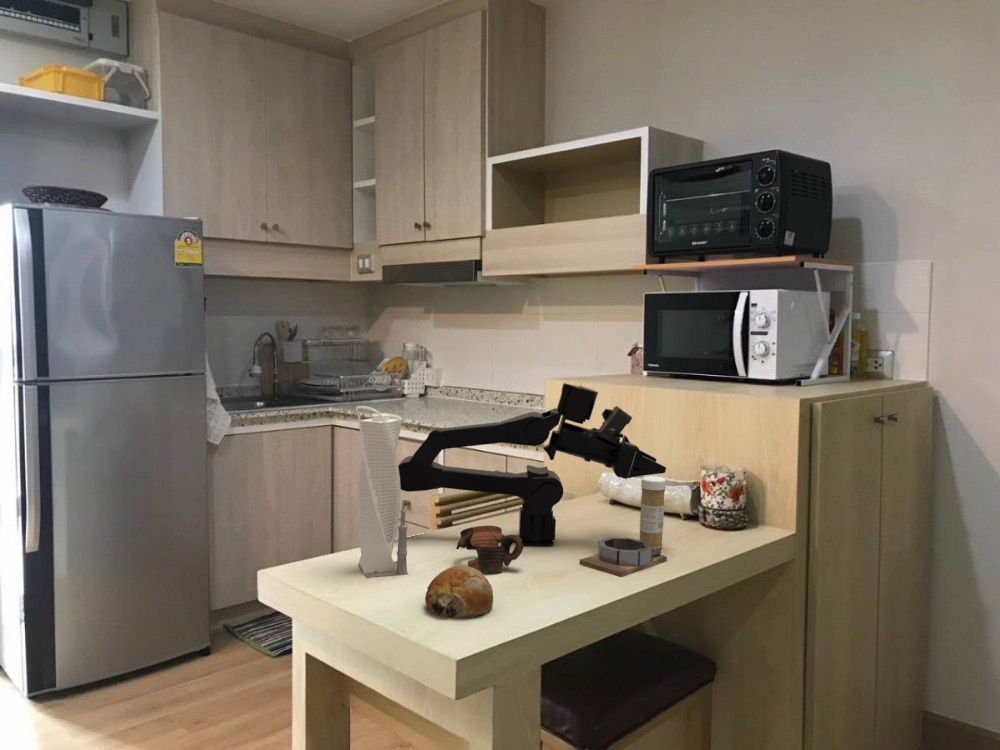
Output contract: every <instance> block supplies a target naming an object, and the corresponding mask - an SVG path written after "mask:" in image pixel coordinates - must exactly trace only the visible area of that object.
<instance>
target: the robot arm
mask: <svg viewBox="0 0 1000 750" xmlns="http://www.w3.org/2000/svg"><path fill="white" fill-rule="evenodd" d="M560 391H561V393H560V397H559V400H558V404H557V407H556V408H553V409H552V408H551V409H550V410H547V411H544V412H541V413H540V412H537V411H530V412H527V413H524V414H520V415H516V416H513V417H511V418H509V419H505V420H501V421H497V422H489V423H480V424H471V425H469V424H468V425H460V426H452V427H434V428H433V429H432V430H430V432H429V434H428V435H427V438H426V439H425V440H424V441H423V442H422V443H421V444H420V446H419V447H418V448H417V449H416V451H415V452H414V453H413V454H412V455H408V456H406V457H404V458H403V459H402V460H401V461H400V462H399V463H398V468H399V475H400V488H401V491H403V492H408V493H409V492H410V493H411V492H424V491H430V490H436V489H450V490H451V489H452V490H460V491H461V490H462V491H469V492H476V493H477V492H478V493H479V492H480V493H489V494H497V495H506V496H514V497H517V498H519V499H521V506H522V507H521V506H519V511H518V513H519V515H518V516H519V518H518V533H517V534H516V535H517V536H518V537H520V538H521V539H522V544H523V545H524V546H547V547H549V546H551V547H552V546H554V541H555V540H556V521H557V520H556V517H555V516H554V510H553V507H554V506H556V505H557V504H558V503H560V501H561V500H562V498H563V497H564V487H563V483H562V481H561V478H560V476H559V475H558V474H557V473H556V472H555V471H553V470H549V469H548V466H543V467H538V466H534V465H529V464H527V465H526V471H524V472H518V473H512V472H503V471H502V472H501V471H496V470H494V471H493V470H485V469H484V470H483V469H475V468H474V469H473V468H465V467H455V466H447V465H443V464H440V463H438V462H436V461H435V459H436V458H437V457H438V456H439V454H440V453H441V452H442V451H443V450H446V449H447V450H448V449H455V448H457V449H458V448H466V447H475V446H483V445H493V444H494V445H495V444H512V445H517V446H518V445H519V446H530V447H531V446H532V447H533V446H534V447H536V446H540V445H543V444H544V443H546V441H547V440H548V438H549V436H550V438H549V441H548V444H546V445H544V446H543V450H544V451H545V453H546V454H547V455H548V457H549V460H550V461H553V460H555V456H556V453H557V452H560V453H563V454H567V455H570V456H573V457H576V458H580V459H583V460H584V461H586V462H588V463H590V462H594V463H597V464H601V465H604V467H606V468H609V469H612V471H613V473H614V475H615V476H616V477H618V478H621V479H624V480H627V479H632V478H637V477H646V476H651V475H658V474H665V473H666V470H667V467H666V466H665V465H663V464H660V463H658V462H657V458H656V457H654V456H652V455H651V454H649V453H646V452H645V451H643V450H640V448H639V447H638V446H637V445H636V444H633V443H631V441H630V439H629V438H628V437H627V435H625V434H623V433H622V432H623V430H624V429H625V428H626V427H627V425H629V424H630V422H631V421H632V420H633V417H632V416H631V415H629V413H627V412H625V411H624V410H623V409H622V408H621V407H619V406H614V407H613V409H610V408H605V409H604V410H603V411H602V413H601V416H602V418H603V420H604V421H602V423H601V425H600V427H599V428H597V427H592V428H590V429H589V428H586V427H583V426H579V425H583V424H584V423H586V420H587V421H590V420H591V416H592V414H593V410H594V409H595V408H594V407H595V405H596V400H597V398H598V396H599V395H598V394H599V392H598V391H596V390H594V389H593V388H592V389H591V388H588V387H585V386H583V385H578V386H577V385H574V384H569V383H567V382H564V383H563V384H562V387H561V390H560ZM566 421H570V422H573V423H575V424H573V423H569V422H566ZM576 424H579V425H576ZM557 426H558V428H557V429H556V430H554V428H556V427H557ZM550 433H551V434H550ZM621 438H622V440H621Z"/></svg>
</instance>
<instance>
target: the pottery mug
mask: <svg viewBox="0 0 1000 750" xmlns="http://www.w3.org/2000/svg"><path fill="white" fill-rule="evenodd" d="M502 530H503V529H502V527H500V526H496V525H478V526H473V527H467V528H465V529H462V530H461V531H460V539H459V541H458V542H457V545H456V547H455V549H456V550H458V549H460V548H462V549H466V550H469V551H472V550H473V551H476V554H477V557H476V558H475V559H471V560H468V561H467V566H468V567H472V568H474V569H476V570H478V571H480V572H481V573H490V574H491V573H495V574H496V573H497V574H502V573H503V566H505V567H509V565H510V564H511V563H512V561H515V560H517V559H518V558H519V557H520V556H521V554H522V552H523V549H524V548H525V545H523V544H522V539H521V538H520V537H518V536H517V535H518V534H507V535H504V534H503V533H502ZM499 543H500V545H499ZM513 544H514V549H513V550H512V551H511V547H512V545H513ZM510 551H511V552H510Z"/></svg>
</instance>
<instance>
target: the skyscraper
mask: <svg viewBox="0 0 1000 750" xmlns="http://www.w3.org/2000/svg"><path fill="white" fill-rule="evenodd" d="M354 409H355V412H356V416H357V420H358V428H359V434H360V435H359V436H360V441H361V449H362V457H361V462H360V467H359V472H358V480H357V490H356V493H357V494H356V497H357V498H356V511H357V513H356V516H357V528H358V539H359V546H360V547H359V548H360V549H359V550H360V558H359V561H358V563H357V566H358V568H359V569H360V570H361V572H362V573H363V575H364V577H365V578H366V579H371V578H383V577H394V576H403V575H404V576H407V575H409V572H408V567H407V566H408V565H407V555H408V551H407V549H408V547H407V541H408V540H407V530H408V525H406V509H405V499H402V507H401V495H402V493H401V491H402V490H401V488H400V475H399V468H398V465H399V463H398V458H397V454H396V452H397V447H398V442H399V437H400V433H401V428H402V423H403V418H402V417H401V416H400V415H397V414H394V413H388V412H380V411H379V410H377V409H375V408H374V407H370V406H367V405H358V406H356V407H355V408H354ZM360 410H368V411H372V412H374V414H373V413H372V414H371V418H367V419H361V415H360V412H359V411H360ZM390 417H391V418H390ZM395 418H396V419H395ZM401 508H402V509H401ZM400 509H401V510H400ZM399 520H400V524H399ZM397 531H398V539H397V540H398V541H397V551H396V556H397V559H396V561H395V560H393V557H392V555H393V554H392V553H393V549H394V545H395V541H396V537H397Z"/></svg>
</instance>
